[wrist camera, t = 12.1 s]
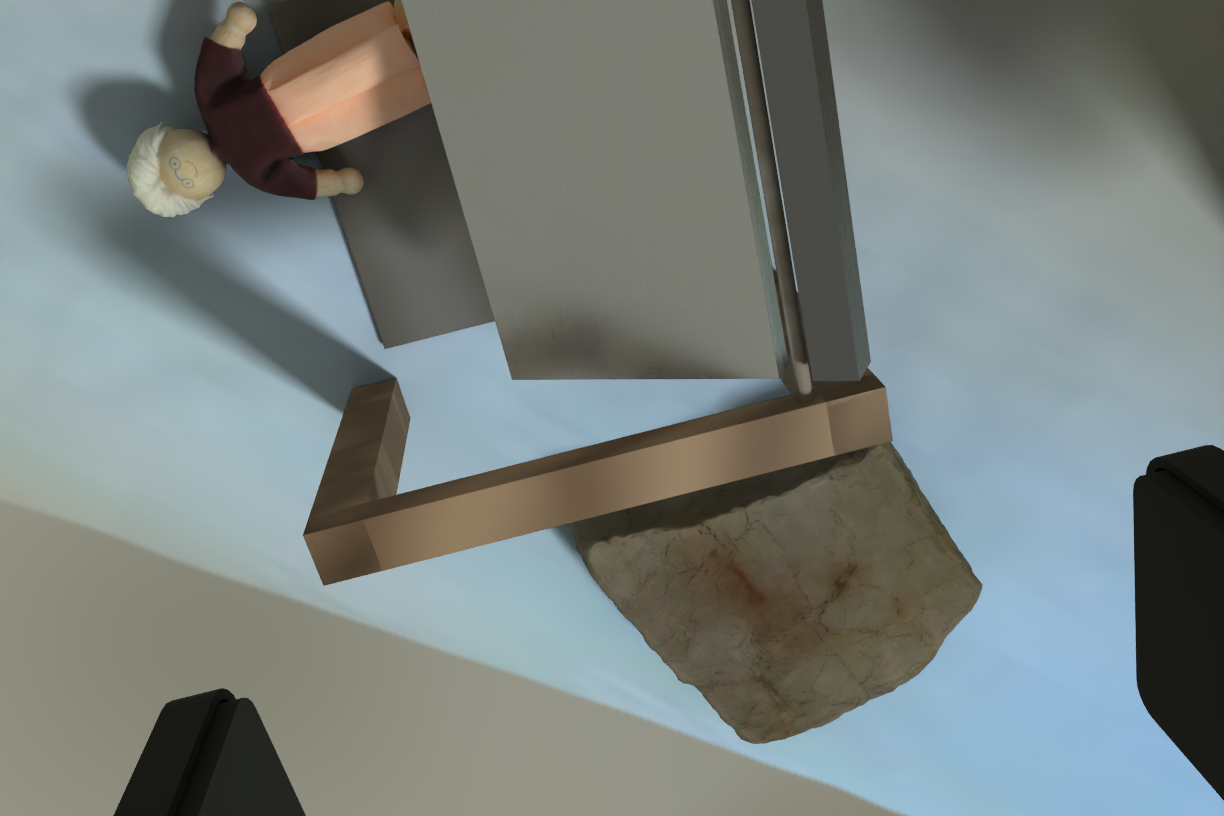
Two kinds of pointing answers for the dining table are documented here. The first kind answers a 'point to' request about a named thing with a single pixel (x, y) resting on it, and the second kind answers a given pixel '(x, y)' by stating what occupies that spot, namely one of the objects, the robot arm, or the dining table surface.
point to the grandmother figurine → (281, 111)
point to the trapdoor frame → (457, 299)
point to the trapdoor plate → (643, 184)
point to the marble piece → (788, 587)
